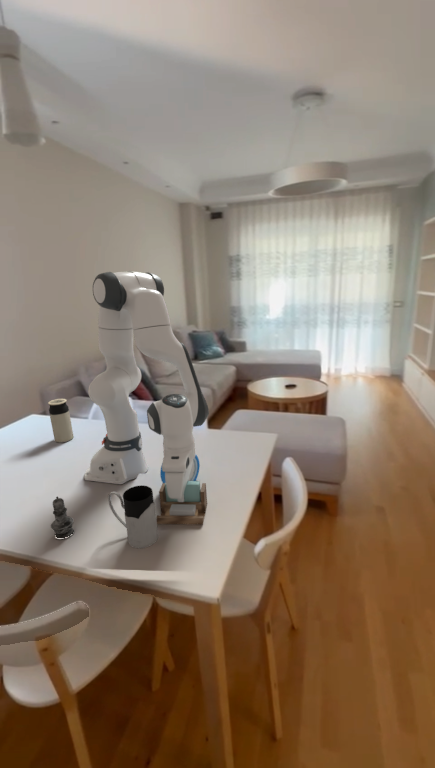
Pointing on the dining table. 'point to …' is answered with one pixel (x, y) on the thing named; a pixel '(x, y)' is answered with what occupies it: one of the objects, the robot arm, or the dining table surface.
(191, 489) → the panel
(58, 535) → the dark grey figurine
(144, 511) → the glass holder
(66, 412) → the travel mug
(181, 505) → the grey offcut
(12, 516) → the dining table surface
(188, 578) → the dining table surface
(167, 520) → the rack
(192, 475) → the alarm clock
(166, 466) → the robot arm
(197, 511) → the oak offcut
